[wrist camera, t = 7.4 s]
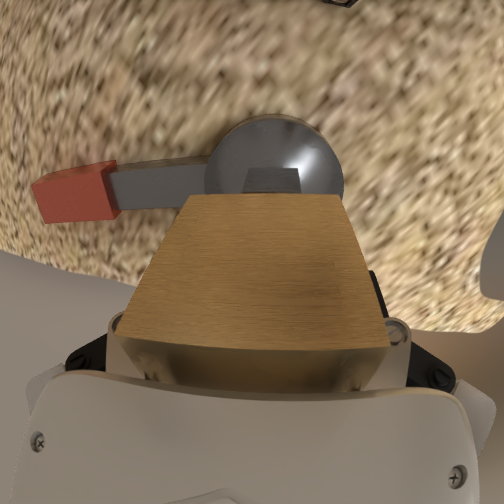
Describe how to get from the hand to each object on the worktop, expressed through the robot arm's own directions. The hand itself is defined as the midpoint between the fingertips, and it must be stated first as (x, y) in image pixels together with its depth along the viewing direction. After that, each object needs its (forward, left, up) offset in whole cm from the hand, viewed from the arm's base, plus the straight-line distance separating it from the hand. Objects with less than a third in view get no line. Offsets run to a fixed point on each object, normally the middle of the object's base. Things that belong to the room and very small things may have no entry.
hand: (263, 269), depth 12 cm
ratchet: (+8, 0, -10) cm, 13 cm away
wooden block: (0, 0, -1) cm, 1 cm away
